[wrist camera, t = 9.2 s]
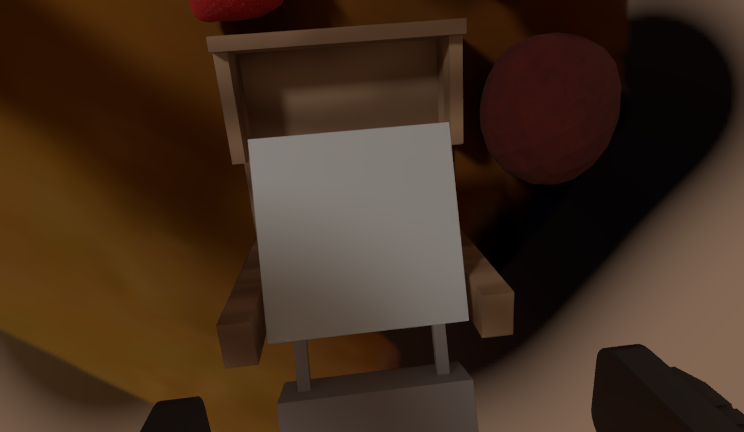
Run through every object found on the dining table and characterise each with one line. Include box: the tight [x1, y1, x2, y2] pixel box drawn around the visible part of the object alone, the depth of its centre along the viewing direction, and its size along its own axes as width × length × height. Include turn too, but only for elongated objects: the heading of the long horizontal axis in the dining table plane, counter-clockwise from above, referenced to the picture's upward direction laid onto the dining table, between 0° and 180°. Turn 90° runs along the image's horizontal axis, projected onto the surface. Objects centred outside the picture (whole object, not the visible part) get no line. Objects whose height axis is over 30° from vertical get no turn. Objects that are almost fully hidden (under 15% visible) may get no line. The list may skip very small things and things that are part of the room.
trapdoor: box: [248, 122, 478, 432], centre depth 28 cm, size 20×13×4 cm, turn 4°
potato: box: [480, 32, 622, 185], centre depth 35 cm, size 12×11×8 cm
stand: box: [206, 18, 514, 368], centre depth 32 cm, size 26×18×15 cm
